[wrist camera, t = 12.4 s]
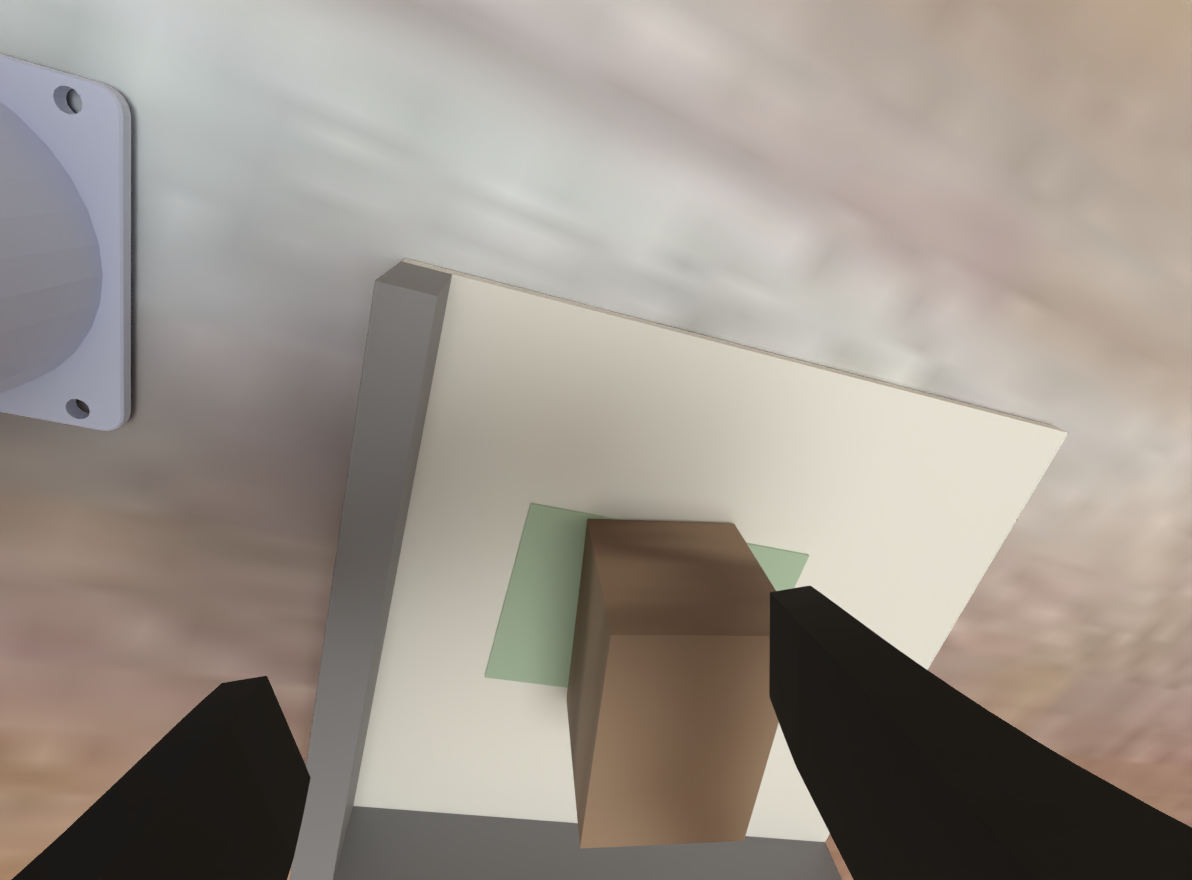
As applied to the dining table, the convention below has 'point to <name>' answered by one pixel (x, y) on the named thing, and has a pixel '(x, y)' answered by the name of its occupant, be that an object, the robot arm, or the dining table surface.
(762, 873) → the arena
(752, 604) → the walnut block
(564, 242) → the dining table surface
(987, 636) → the dining table surface
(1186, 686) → the dining table surface
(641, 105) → the dining table surface
